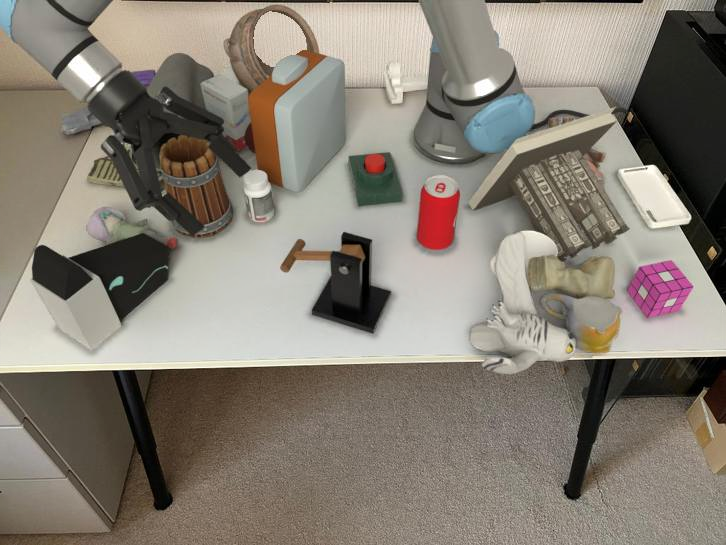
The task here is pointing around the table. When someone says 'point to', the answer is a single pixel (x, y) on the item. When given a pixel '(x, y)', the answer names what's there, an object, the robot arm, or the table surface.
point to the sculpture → (573, 277)
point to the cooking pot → (242, 46)
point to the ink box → (228, 107)
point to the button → (375, 163)
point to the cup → (534, 248)
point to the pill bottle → (258, 196)
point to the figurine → (590, 157)
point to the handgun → (86, 119)
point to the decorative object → (99, 285)
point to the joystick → (401, 82)
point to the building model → (557, 185)
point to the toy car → (230, 74)
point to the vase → (177, 90)
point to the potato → (249, 138)
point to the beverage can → (438, 212)
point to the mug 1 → (196, 183)
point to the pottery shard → (111, 173)
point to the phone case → (654, 197)
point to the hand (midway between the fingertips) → (223, 201)
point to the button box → (375, 181)
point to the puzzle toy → (659, 288)
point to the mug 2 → (587, 320)
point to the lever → (317, 254)
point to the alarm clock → (299, 118)
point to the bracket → (352, 289)
